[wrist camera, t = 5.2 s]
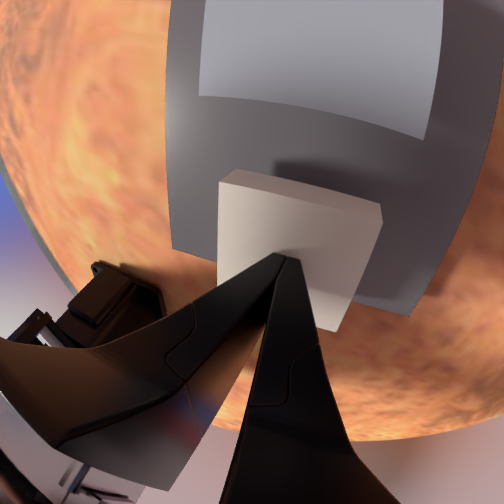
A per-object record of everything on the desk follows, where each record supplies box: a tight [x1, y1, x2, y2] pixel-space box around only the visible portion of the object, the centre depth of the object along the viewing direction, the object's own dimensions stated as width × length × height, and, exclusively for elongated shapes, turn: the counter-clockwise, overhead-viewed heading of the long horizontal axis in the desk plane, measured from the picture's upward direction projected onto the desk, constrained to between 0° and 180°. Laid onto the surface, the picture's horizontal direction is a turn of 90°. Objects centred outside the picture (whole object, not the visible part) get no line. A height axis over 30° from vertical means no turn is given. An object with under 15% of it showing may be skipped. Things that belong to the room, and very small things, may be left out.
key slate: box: [199, 0, 443, 140], centre depth 4 cm, size 4×4×2 cm
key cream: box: [217, 169, 383, 332], centre depth 9 cm, size 4×4×2 cm
